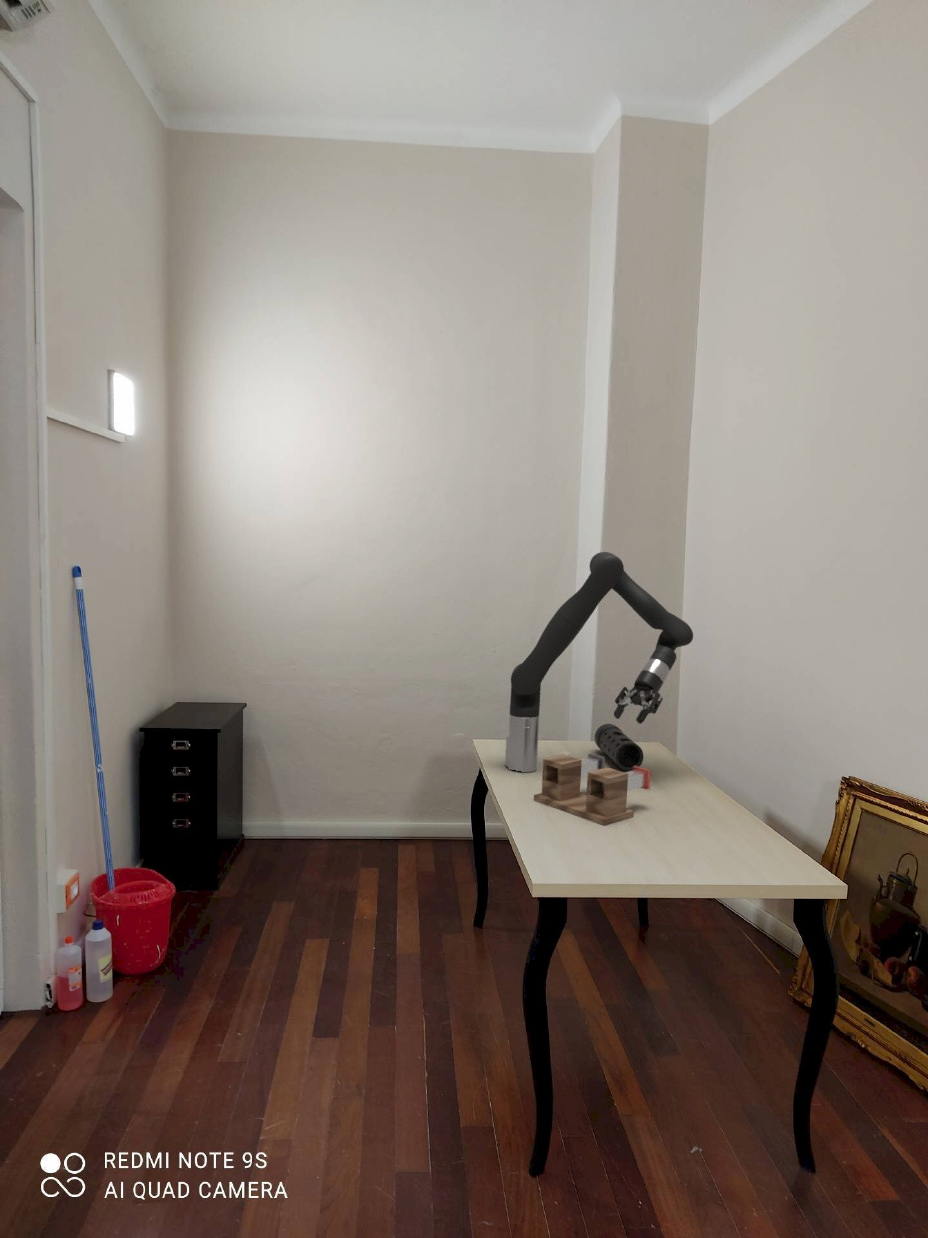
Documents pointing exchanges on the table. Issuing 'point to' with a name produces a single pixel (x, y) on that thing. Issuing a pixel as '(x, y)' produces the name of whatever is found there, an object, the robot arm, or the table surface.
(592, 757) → the charcoal plug
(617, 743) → the muzzle brake
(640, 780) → the red plug
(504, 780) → the table surface
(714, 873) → the table surface
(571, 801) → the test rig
